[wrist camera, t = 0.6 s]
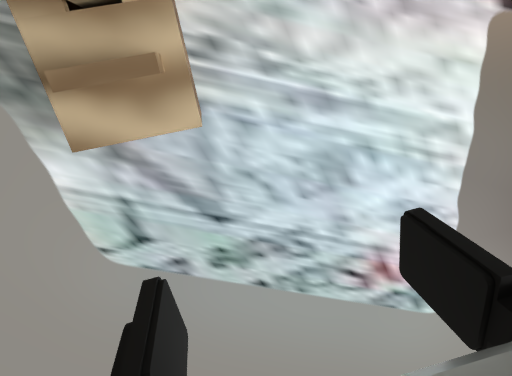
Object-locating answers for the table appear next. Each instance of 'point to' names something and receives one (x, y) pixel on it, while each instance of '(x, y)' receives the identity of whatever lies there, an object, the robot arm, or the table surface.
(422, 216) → the robot arm
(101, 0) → the block
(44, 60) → the lid
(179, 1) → the table surface
